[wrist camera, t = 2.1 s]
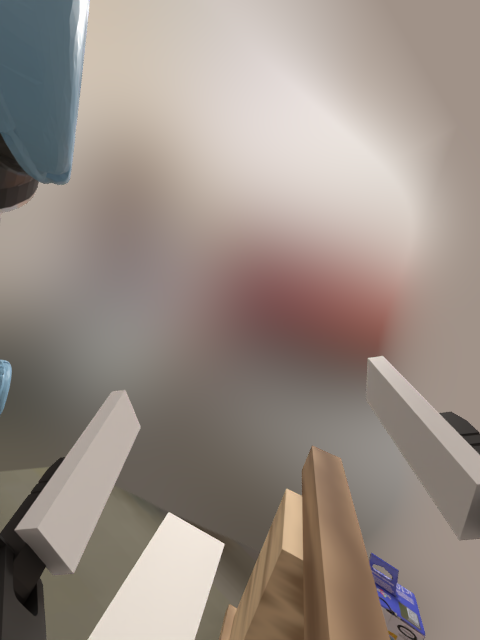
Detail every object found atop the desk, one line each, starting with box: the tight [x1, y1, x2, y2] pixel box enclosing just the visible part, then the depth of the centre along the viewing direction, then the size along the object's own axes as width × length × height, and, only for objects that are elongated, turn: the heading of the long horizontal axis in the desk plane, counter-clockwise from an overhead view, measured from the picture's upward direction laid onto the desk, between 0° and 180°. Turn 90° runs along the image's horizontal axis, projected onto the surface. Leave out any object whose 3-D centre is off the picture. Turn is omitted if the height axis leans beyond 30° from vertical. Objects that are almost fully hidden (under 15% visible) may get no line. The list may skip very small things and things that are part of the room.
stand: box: [219, 489, 304, 640], centre depth 28 cm, size 10×10×22 cm
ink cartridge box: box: [369, 553, 425, 640], centre depth 34 cm, size 10×6×14 cm, turn 68°
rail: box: [302, 446, 390, 640], centre depth 24 cm, size 4×22×4 cm, turn 167°
